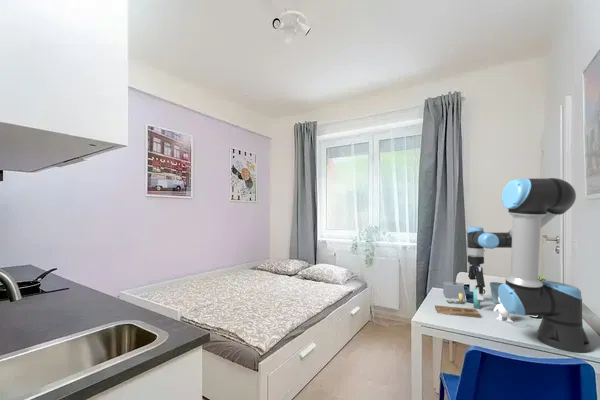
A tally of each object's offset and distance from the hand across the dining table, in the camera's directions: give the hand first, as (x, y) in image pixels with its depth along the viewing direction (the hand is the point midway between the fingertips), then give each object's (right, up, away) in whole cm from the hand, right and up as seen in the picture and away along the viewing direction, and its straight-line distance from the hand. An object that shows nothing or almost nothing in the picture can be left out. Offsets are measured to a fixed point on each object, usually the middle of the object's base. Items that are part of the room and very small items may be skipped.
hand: (476, 295), depth 150 cm
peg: (0, -6, -1) cm, 6 cm away
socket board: (-15, -6, -8) cm, 18 cm away
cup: (+17, -7, +8) cm, 20 cm away
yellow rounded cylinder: (-7, -7, +8) cm, 12 cm away
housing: (-1, -7, +19) cm, 20 cm away
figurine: (+2, -6, -18) cm, 19 cm away
